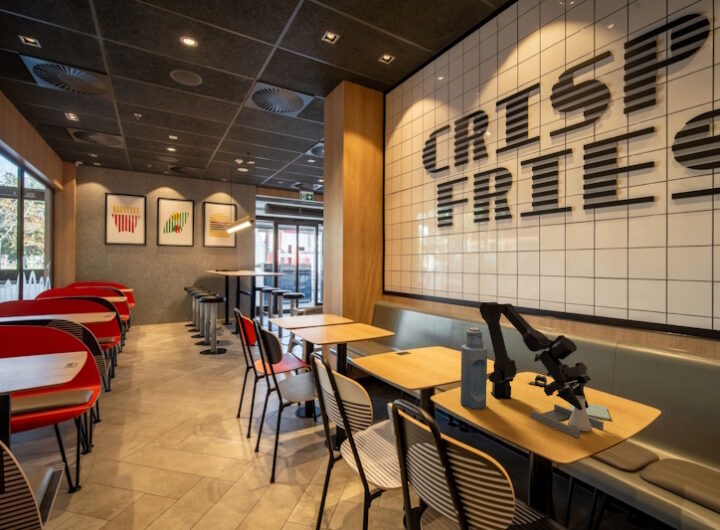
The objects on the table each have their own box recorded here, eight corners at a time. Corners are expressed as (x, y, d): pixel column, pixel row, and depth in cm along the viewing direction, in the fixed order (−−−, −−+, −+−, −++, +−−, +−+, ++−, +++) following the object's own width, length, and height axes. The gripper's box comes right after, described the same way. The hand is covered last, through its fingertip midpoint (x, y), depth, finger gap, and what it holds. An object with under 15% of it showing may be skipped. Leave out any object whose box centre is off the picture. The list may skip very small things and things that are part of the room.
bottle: (478, 399, 148) (479, 325, 148) (491, 409, 138) (492, 330, 138) (456, 401, 146) (457, 326, 146) (467, 411, 137) (468, 331, 136)
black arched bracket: (558, 388, 164) (558, 377, 164) (553, 392, 159) (553, 381, 159) (529, 381, 173) (529, 371, 173) (523, 385, 167) (523, 375, 167)
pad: (571, 413, 135) (571, 411, 135) (569, 402, 146) (569, 400, 146) (610, 420, 130) (610, 418, 130) (605, 408, 140) (605, 406, 140)
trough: (530, 417, 131) (531, 410, 131) (555, 410, 138) (555, 404, 138) (578, 438, 116) (578, 430, 116) (603, 429, 123) (603, 422, 123)
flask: (596, 433, 119) (597, 402, 118) (571, 430, 120) (572, 400, 120) (587, 423, 126) (588, 394, 125) (564, 421, 127) (565, 392, 127)
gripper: (553, 357, 121) (585, 403, 112) (586, 351, 130) (619, 393, 121) (531, 374, 129) (560, 418, 119) (564, 367, 137) (594, 407, 128)
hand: (584, 408), depth 121 cm, fingers closed on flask, 3 cm apart
